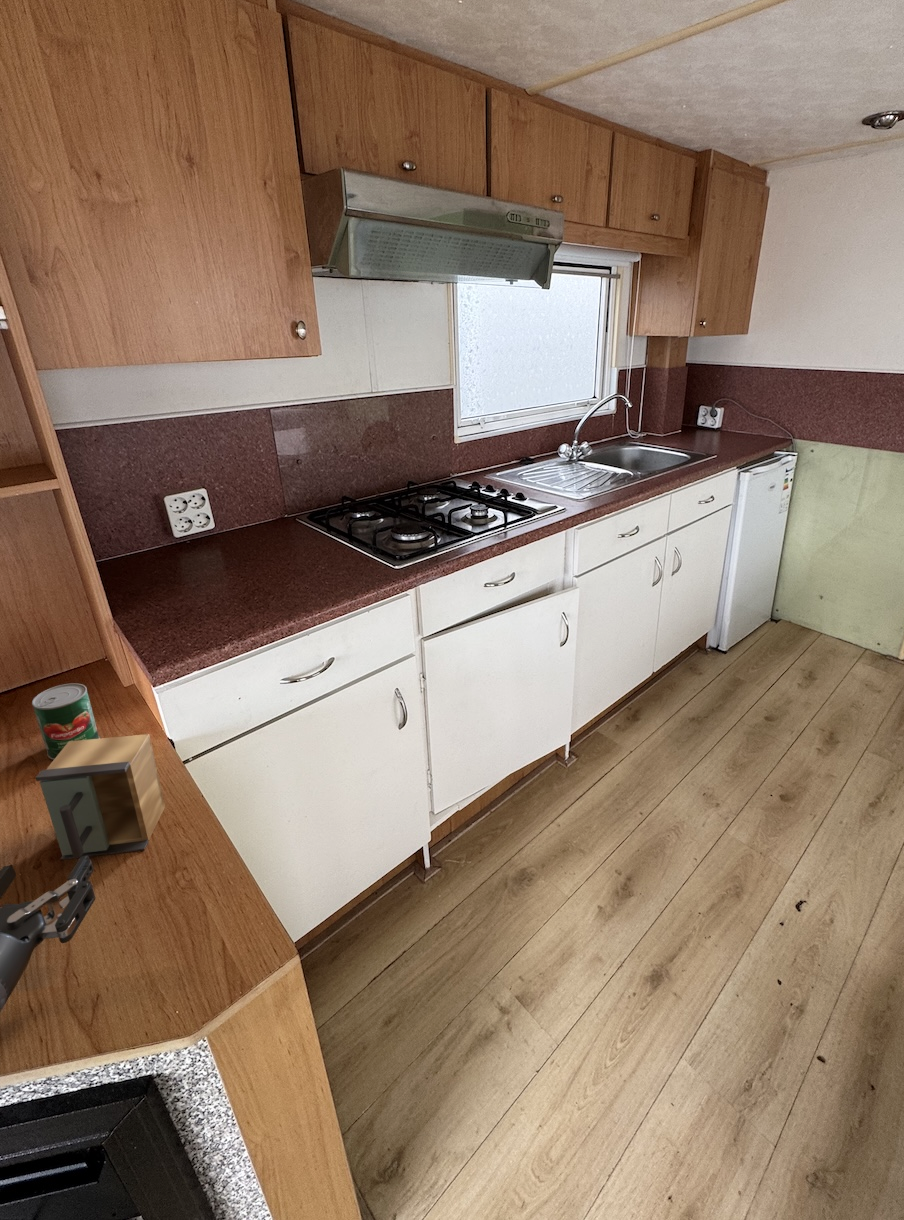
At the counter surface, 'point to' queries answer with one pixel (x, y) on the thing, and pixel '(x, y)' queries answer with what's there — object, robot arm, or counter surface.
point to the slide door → (74, 815)
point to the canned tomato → (64, 716)
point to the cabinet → (116, 787)
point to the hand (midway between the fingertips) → (49, 865)
